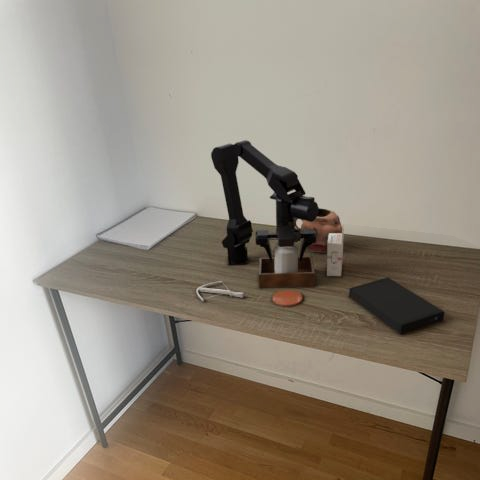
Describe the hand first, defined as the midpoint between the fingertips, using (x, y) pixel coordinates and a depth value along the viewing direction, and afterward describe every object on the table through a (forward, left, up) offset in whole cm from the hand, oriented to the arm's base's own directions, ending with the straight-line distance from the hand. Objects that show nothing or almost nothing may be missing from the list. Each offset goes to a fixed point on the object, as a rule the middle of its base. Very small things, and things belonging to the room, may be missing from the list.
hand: (285, 261), depth 149 cm
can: (0, 0, -6) cm, 6 cm away
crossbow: (-21, -10, -6) cm, 24 cm away
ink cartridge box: (+16, +4, -6) cm, 18 cm away
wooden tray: (0, 0, -6) cm, 6 cm away
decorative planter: (+12, +24, -6) cm, 27 cm away
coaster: (0, -14, -6) cm, 15 cm away
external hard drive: (+30, -21, -6) cm, 37 cm away
